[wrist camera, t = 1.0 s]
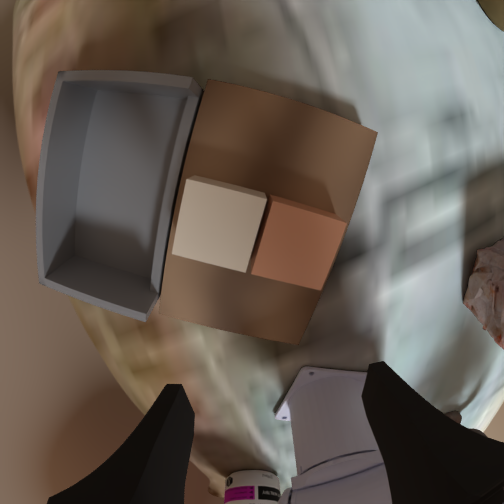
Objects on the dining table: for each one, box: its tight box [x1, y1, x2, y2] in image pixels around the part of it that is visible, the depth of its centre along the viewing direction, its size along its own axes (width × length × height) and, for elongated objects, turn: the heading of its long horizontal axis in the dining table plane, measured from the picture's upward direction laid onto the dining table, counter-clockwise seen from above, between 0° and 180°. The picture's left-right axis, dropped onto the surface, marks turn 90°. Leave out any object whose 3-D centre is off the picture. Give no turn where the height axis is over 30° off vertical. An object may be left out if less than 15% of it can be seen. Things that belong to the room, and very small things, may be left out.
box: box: [36, 70, 204, 322], centre depth 15 cm, size 8×13×4 cm, turn 165°
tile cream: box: [172, 175, 267, 273], centre depth 15 cm, size 4×4×2 cm
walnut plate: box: [159, 79, 378, 345], centre depth 17 cm, size 10×15×2 cm, turn 165°
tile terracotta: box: [251, 195, 347, 290], centre depth 15 cm, size 4×4×2 cm
